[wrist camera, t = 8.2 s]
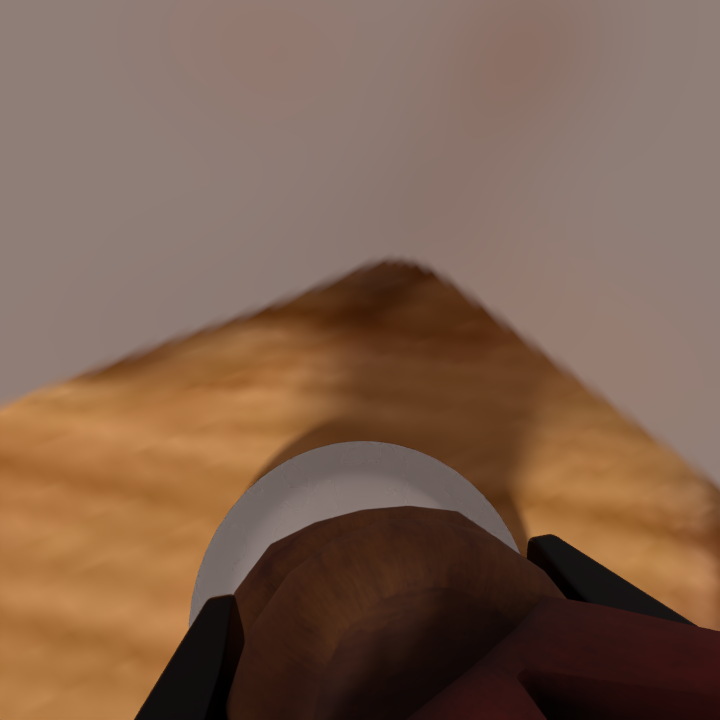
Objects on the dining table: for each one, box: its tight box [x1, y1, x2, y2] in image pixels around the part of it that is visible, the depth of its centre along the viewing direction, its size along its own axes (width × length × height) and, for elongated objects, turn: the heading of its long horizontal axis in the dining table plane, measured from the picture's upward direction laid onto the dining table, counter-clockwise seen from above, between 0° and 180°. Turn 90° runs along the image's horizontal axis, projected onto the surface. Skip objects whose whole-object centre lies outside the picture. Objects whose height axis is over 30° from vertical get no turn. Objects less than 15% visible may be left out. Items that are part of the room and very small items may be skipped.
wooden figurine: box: [225, 506, 720, 720], centre depth 9 cm, size 7×6×15 cm
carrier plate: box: [189, 441, 520, 628], centre depth 17 cm, size 11×11×2 cm
